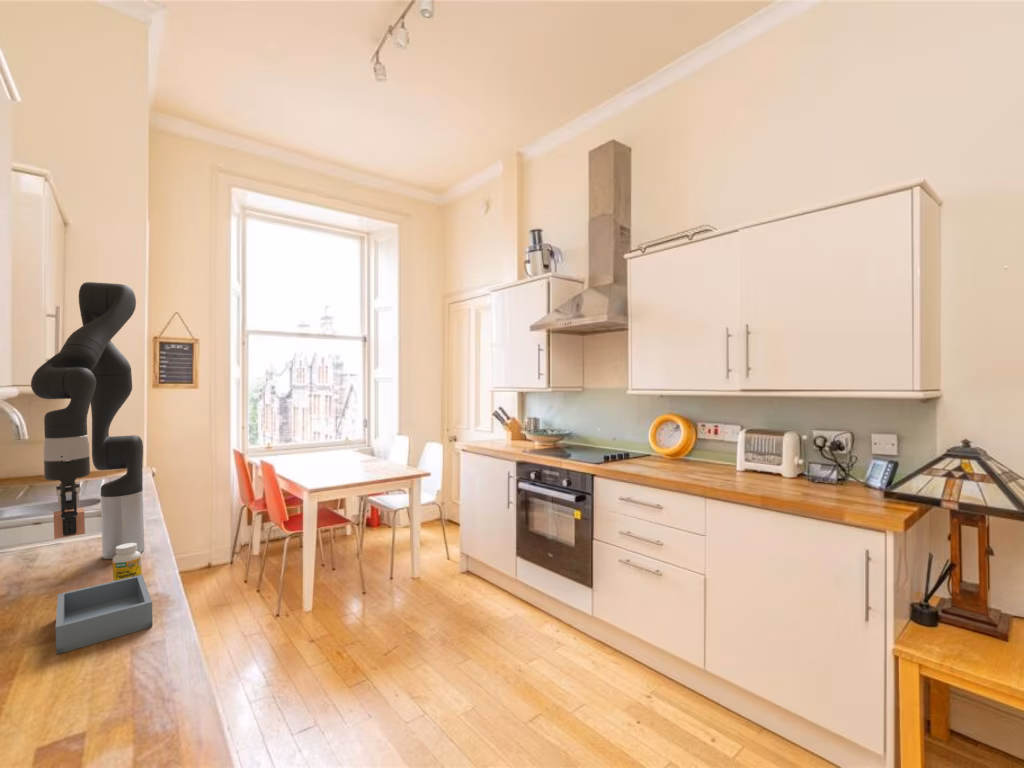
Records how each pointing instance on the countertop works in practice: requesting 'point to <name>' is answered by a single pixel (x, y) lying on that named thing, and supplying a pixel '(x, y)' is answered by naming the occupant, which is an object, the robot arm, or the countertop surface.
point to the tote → (102, 613)
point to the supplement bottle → (126, 562)
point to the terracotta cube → (59, 523)
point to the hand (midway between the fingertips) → (69, 531)
